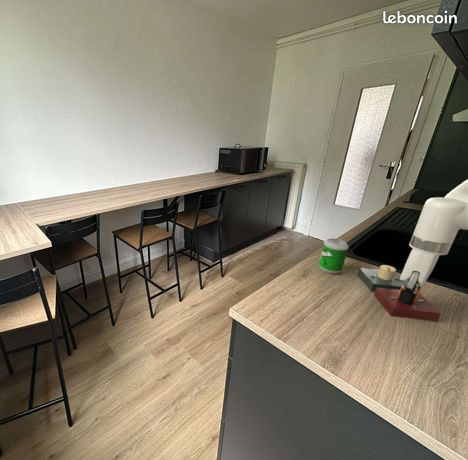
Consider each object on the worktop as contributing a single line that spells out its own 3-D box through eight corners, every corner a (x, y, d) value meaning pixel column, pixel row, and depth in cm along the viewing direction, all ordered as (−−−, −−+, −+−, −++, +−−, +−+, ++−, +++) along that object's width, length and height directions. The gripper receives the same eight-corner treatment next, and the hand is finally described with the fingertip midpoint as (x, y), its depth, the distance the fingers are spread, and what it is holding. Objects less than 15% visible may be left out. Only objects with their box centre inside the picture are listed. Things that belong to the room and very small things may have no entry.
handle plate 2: (414, 299, 79) (418, 291, 78) (437, 321, 70) (441, 312, 69) (373, 294, 82) (376, 286, 80) (390, 316, 73) (394, 307, 72)
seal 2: (401, 293, 77) (405, 282, 76) (418, 300, 74) (423, 289, 72) (395, 297, 76) (399, 287, 74) (412, 305, 72) (417, 294, 71)
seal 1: (376, 272, 88) (380, 263, 86) (391, 276, 86) (395, 266, 84) (377, 278, 85) (381, 268, 83) (393, 281, 83) (397, 271, 81)
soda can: (339, 266, 98) (347, 239, 93) (342, 276, 92) (351, 247, 87) (317, 263, 101) (323, 236, 96) (319, 272, 95) (326, 244, 90)
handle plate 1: (392, 278, 90) (395, 270, 88) (410, 295, 81) (413, 287, 80) (357, 275, 92) (359, 267, 91) (370, 291, 83) (373, 283, 82)
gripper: (417, 231, 75) (397, 282, 82) (403, 248, 66) (382, 304, 73) (454, 239, 70) (429, 293, 77) (444, 259, 60) (417, 318, 67)
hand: (406, 298), depth 75 cm, fingers closed on seal 2, 4 cm apart
